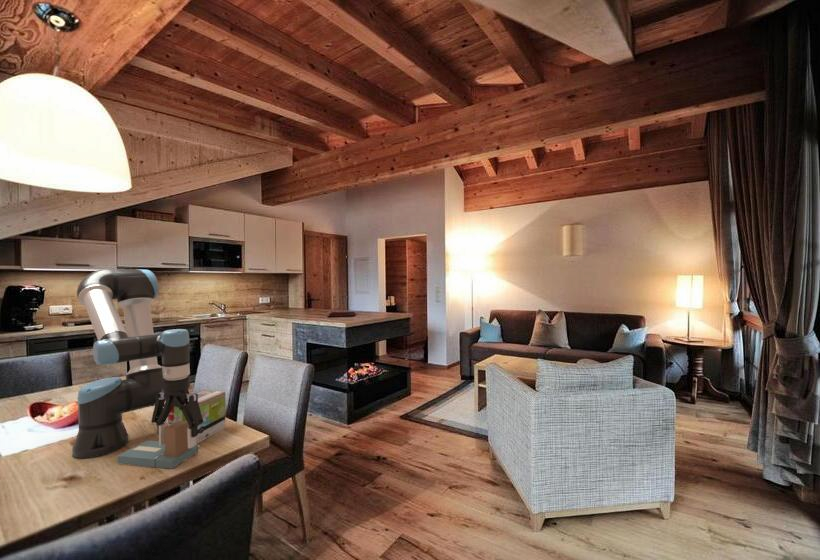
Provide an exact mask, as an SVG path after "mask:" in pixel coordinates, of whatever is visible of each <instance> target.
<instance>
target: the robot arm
mask: <svg viewBox="0 0 820 560" xmlns="http://www.w3.org/2000/svg"><path fill="white" fill-rule="evenodd" d="M159 289H160V287H159V283H158V278H157V276H156V274H155V273H154V272H153V271H152V270H149V269H141V268H140V269H139V268H135V269H134V268H133V269H130V268H129V269H127V268H124V269H118V268H117V269H115V268H114V269H111V268H110V269H109V268H106V269H105V268H104V269H98V270H96V271H92V272H91V273H89V274H87V275H86V276H85V277H84V278H83V279H82V280H81V281H80V283H79V284H78V286H77V289H76V296H77V298H78V302H79V303H80V304H81V305H83V306H84V307H85V309H86V312H87V315H88V318H89V320H90V322H91V325H92V328H93V331H94V333H95V336H96V339H97V340H96V341H95V342H94V343H93V346H92V353H93V354H92V356H93V361H94V362H95V364H96V365H99V366H101V365H113V364H119V363H124V362H129V371H127V373H126V374H125V379H122V378H121V377H120V376H112V377H105V378H101V379H97V380H94V381H91V382H88V383H86V384H85V385H83V386H81V387H80V389H79V390H78V392H77V393H78V395H77V405H78V406H77V409H78V410H77V411H78V431H77V434H76V436H75V440H74V443H73V445H72V448H71V449H72V452H71V453H72V457H74V458H76V459H87V458H89V459H90V458H95V457H101V456H104V455H108V454H111V453H113V452H117V451H119V450H121V449H123V448H124V447H126V446H127V445H129V442H130V441H129V440H130V435H129V433H128V432H127V431H128V430H127V429H126V427H125V425H124V423H123V414H125V413H128V412H133V411H136V410H137V411H138V410H142V409H145V408H149V407H153V411H152V412H153V413H152V415H151V420H150V421H151V423H152V424H155V425H156V428H157V435H158V441H159V446H162V445H164V444H165V438H164V428H165V427H168V426H169V424H168V423H169V422H167V420H168V415H169V413H170V411H171V409H172V407H173V406H175V407H178V408H179V409H180V410H182V412H183V414H184V416H185V418H186V420H187V422H188V424H189V426H190V427H189V428H187V431H188V448H192V447H193V446H195V445H197V444H196V436H197V435H198V425H200V424H202V423H203V418H202V414H201V411H200V407H199V403H198V394H197V393H193V394H191V393H190V392H189V388H190V387H191V377H190V374H191V370H190V369H191V368H190V341H191V340H190V334H189V330H188V329H184V328H176V329H175V328H173V329H167V330H164V331H162V332H160V331H159V332H155V331H154V325H153V317H152V310H151V309H152V308H151V305H152V304H153V303H154V301H155V298H156V297H158V295H159ZM113 300H117V306H119V307H121V308H122V309H123V316H124V317H123V318H124V323H123V321H122V318H121V316H120V314H119V312H118V310H117V307H116V305H115V303H114V301H113ZM154 332H155V333H154ZM158 357H161V363H162V365H160V364H158V363H159V362H158ZM184 404H186V405H184ZM183 405H184V406H183ZM193 422H194V423H193Z"/></svg>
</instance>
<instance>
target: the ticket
mask: <svg viewBox="0 0 820 560" xmlns="http://www.w3.org/2000/svg"><path fill="white" fill-rule="evenodd" d="M164 454H165V444H164V445H162V446H159V440H149V439H148V440H145V441H143V442H142V443H140V444H138V445H136V446H134V447H132V448H130V449H128V450H126V451H125V452H122V453H120V454H118V455H117V459H116V460H117V461H116V462H117V464H119V465H120V464H121V465H126V466H127V465H129V466H138V467H145V468H146V467H147V468H157V467H156V465H155V460H156V459H157V458H159V457H161V456H163V455H164Z"/></svg>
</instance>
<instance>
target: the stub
mask: <svg viewBox="0 0 820 560" xmlns="http://www.w3.org/2000/svg"><path fill="white" fill-rule="evenodd" d="M189 427H190V426H189V424H188V422H187V421H178V422H176V423H171V424H170V425H168V427H165V428H164V438H165V454H164V455H163V456H161V457H159V458H157V459H156V460H155V465H156V467H155V468H160V469H161V468H162V469H170V470H171V469H174V468H176V467H177V466H179V465H180V464H182V463H183V462H184V461H186V460H188V459H190V458H191V457H193V456H194V455H196V454H197V453H199V450H200V449H199V448H200V447H199V444H196V445H195V446H193V447H192V448H188V431H187V428H189Z"/></svg>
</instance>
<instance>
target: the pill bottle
mask: <svg viewBox="0 0 820 560" xmlns="http://www.w3.org/2000/svg"><path fill="white" fill-rule="evenodd" d="M167 423H169V424H174V406H173V407H172V409H171V411H170V413H169V415H168V417H167Z"/></svg>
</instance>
